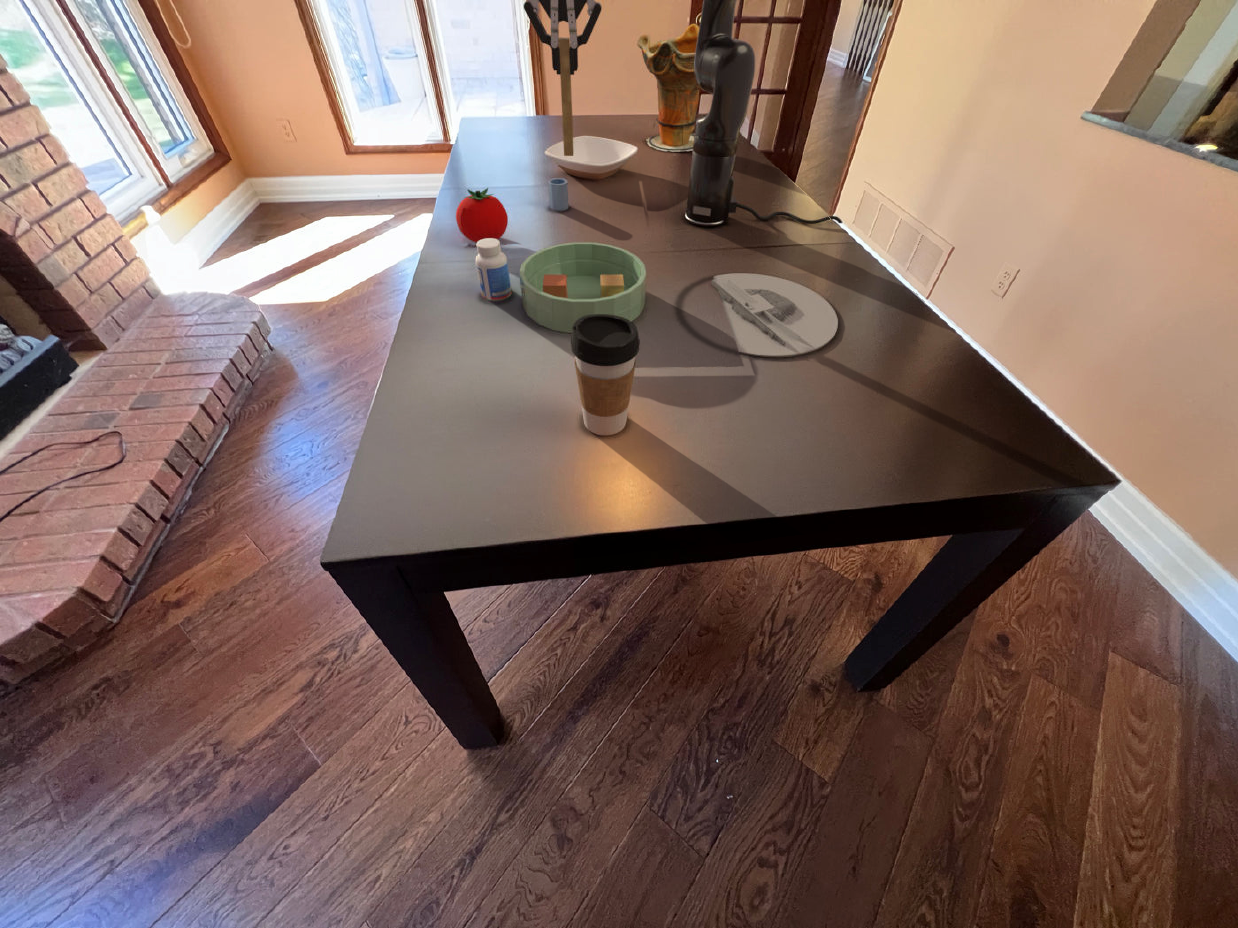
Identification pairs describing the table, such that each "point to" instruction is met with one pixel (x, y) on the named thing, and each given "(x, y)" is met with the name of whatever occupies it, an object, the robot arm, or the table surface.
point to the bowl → (592, 156)
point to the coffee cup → (604, 369)
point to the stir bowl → (581, 283)
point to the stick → (566, 96)
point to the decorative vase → (674, 88)
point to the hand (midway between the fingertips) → (565, 73)
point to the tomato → (481, 216)
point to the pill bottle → (492, 270)
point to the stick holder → (558, 194)
